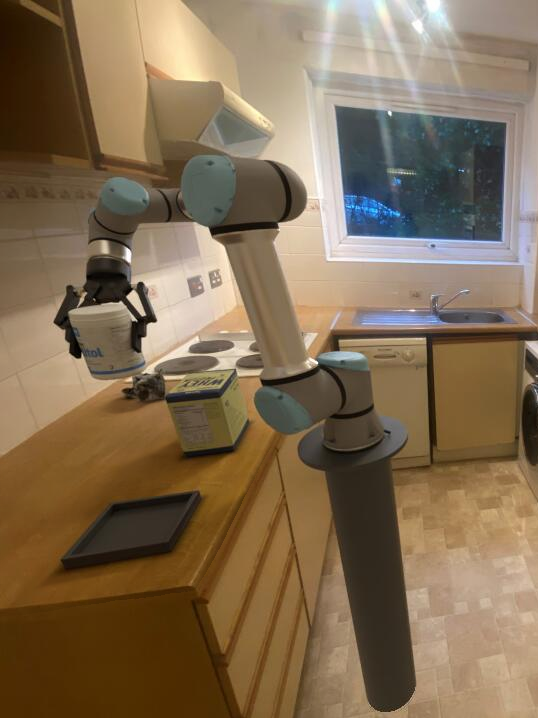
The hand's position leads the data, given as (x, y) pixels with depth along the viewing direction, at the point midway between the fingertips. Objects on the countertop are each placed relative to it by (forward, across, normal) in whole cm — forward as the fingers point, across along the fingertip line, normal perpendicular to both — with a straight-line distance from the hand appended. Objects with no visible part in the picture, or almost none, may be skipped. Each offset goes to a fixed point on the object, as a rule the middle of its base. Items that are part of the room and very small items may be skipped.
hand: (106, 352), depth 92 cm
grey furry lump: (-10, +9, -45) cm, 47 cm away
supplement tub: (+2, 0, -6) cm, 7 cm away
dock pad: (+40, -8, +5) cm, 41 cm away
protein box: (+17, -15, -18) cm, 29 cm away
